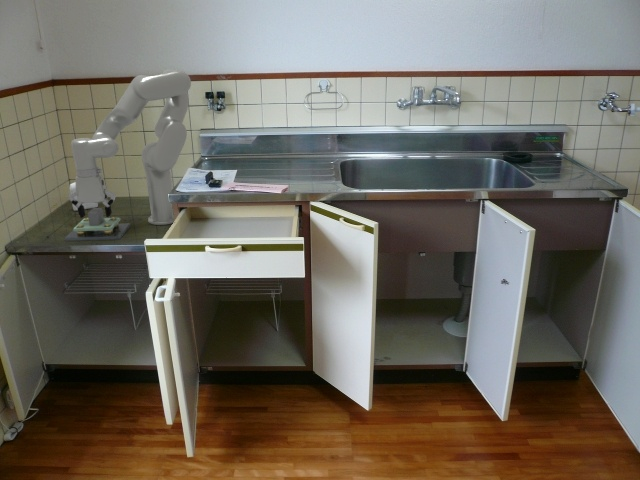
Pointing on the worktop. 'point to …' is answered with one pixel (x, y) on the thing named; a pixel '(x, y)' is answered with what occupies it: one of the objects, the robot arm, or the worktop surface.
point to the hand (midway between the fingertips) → (95, 216)
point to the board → (95, 228)
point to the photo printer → (86, 205)
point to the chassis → (99, 233)
